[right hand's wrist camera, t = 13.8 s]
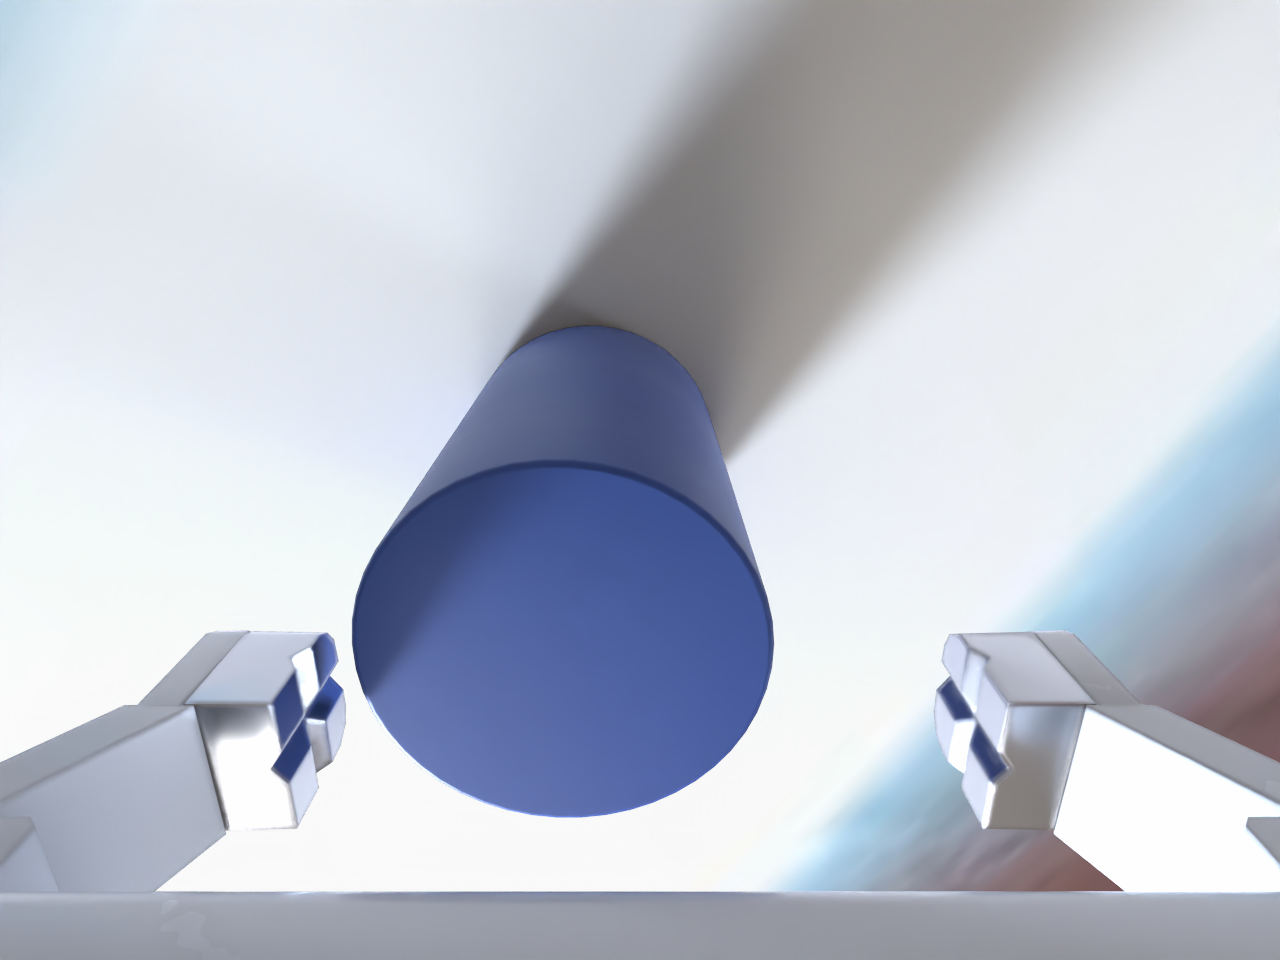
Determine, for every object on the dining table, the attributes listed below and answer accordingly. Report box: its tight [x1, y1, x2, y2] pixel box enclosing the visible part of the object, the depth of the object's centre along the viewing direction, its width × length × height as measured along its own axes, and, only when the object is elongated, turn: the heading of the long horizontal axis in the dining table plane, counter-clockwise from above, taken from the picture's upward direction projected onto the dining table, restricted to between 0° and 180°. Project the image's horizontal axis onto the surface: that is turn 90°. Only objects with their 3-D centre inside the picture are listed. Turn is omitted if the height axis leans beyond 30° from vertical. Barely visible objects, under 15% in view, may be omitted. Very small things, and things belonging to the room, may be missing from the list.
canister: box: [352, 326, 774, 817], centre depth 14 cm, size 6×6×8 cm
